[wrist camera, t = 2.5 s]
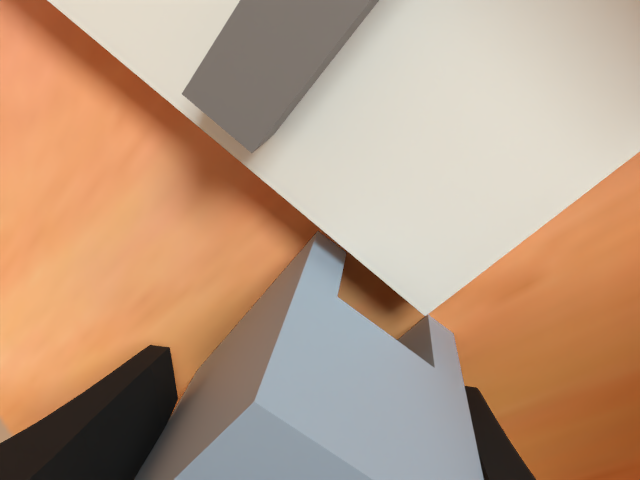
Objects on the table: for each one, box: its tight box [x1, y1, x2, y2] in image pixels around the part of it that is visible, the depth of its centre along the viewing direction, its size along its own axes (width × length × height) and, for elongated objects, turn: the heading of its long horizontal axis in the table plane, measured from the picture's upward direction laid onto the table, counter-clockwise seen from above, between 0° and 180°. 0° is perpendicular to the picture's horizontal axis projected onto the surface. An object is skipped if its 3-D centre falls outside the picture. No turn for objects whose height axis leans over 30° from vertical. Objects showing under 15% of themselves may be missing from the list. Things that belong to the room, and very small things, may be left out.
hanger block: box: [134, 231, 484, 480], centre depth 11 cm, size 5×7×6 cm
